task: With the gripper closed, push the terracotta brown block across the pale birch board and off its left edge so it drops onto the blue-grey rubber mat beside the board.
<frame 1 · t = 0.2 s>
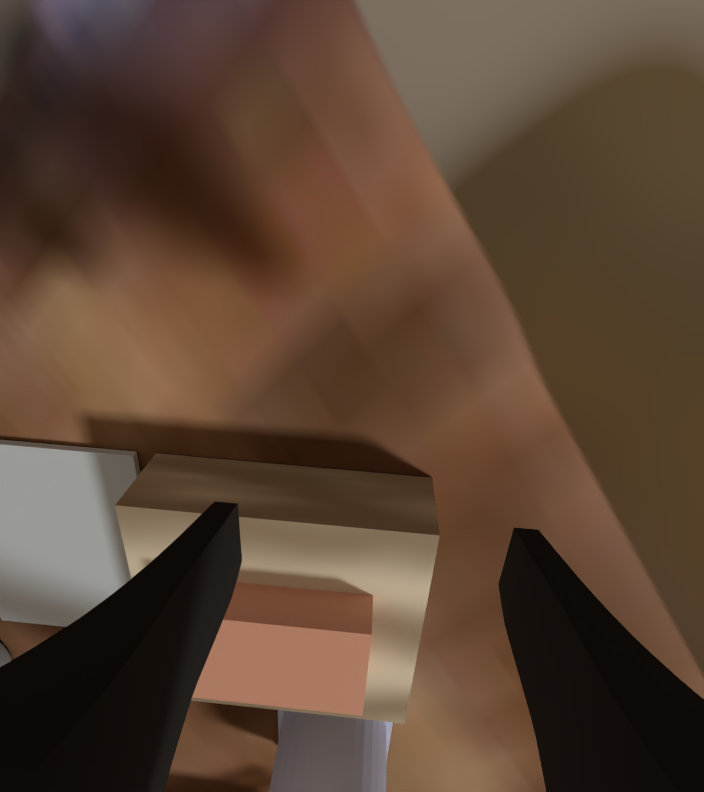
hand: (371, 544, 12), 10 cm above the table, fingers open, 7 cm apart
terracotta brown block: (277, 628, 23), point 4 cm above the table, touching board
mat: (63, 543, 27), on the table
board: (292, 565, 27), on the table
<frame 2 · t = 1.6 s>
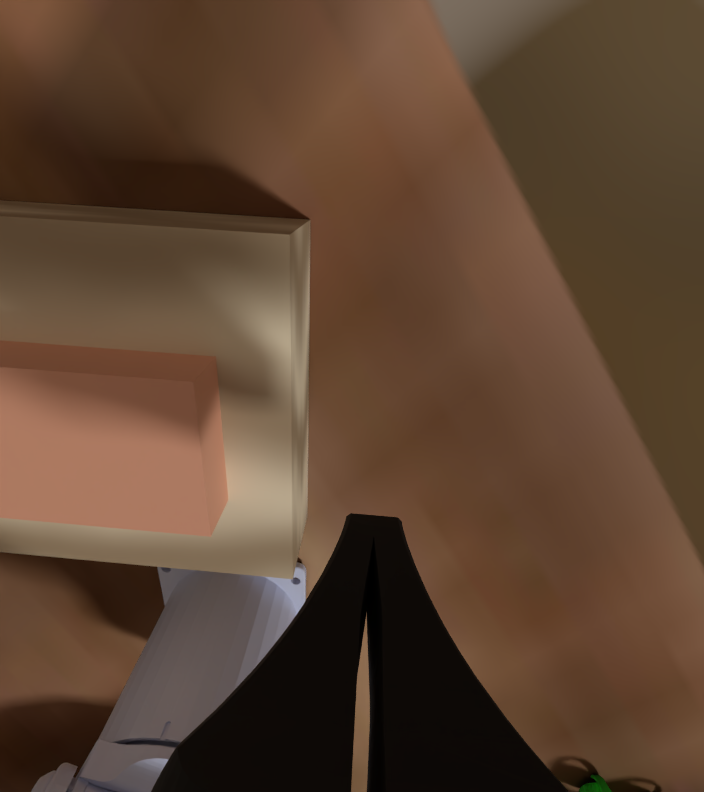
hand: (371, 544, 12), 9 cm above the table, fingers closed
terracotta brown block: (100, 424, 17), point 4 cm above the table, touching board
board: (150, 378, 20), on the table
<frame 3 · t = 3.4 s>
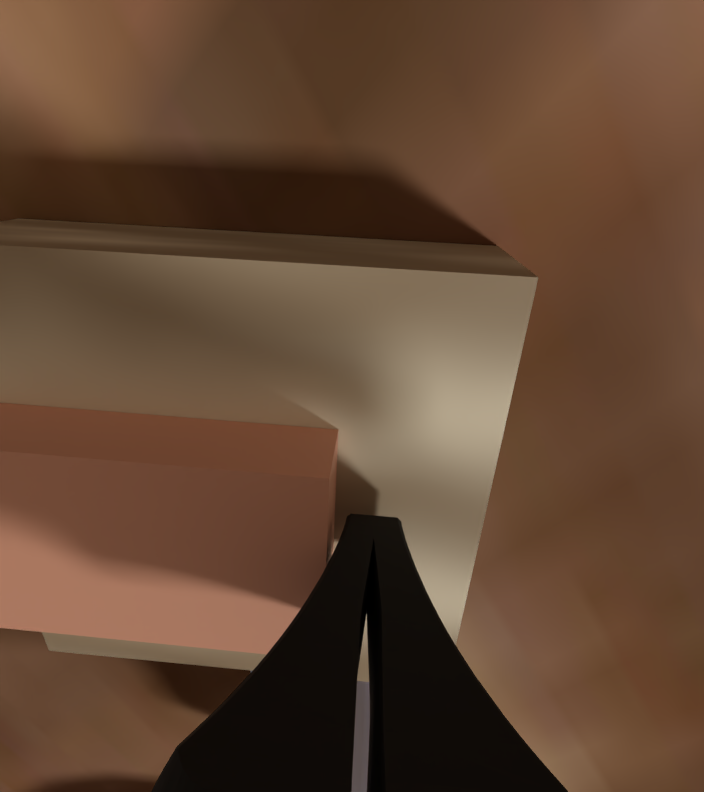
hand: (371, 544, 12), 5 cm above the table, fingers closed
terracotta brown block: (175, 508, 13), point 4 cm above the table, touching gripper
board: (263, 438, 17), on the table
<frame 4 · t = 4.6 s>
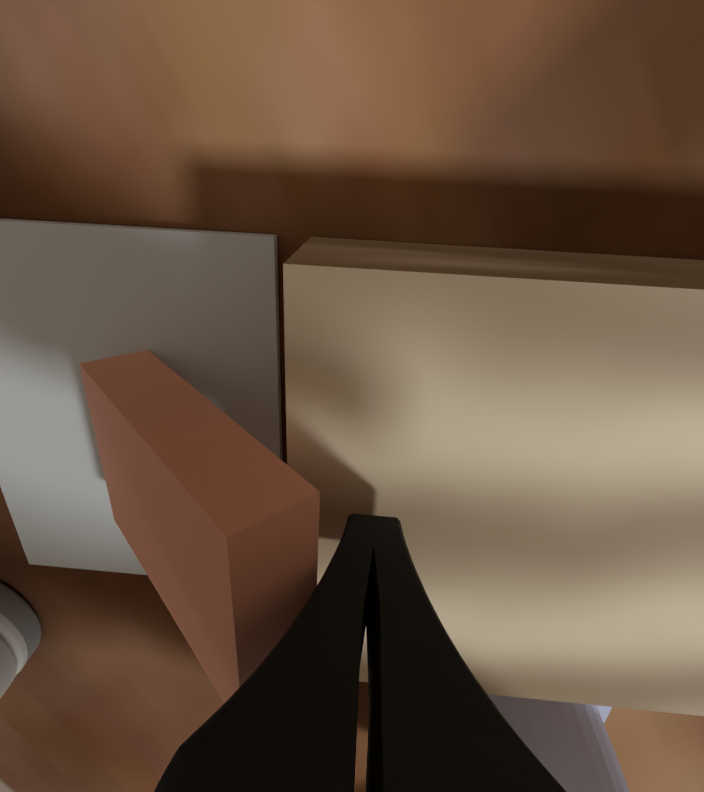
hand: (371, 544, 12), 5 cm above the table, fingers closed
terracotta brown block: (221, 495, 13), point 4 cm above the table, tilted 45°, touching gripper, mat
mat: (131, 428, 17), on the table
board: (508, 457, 16), on the table
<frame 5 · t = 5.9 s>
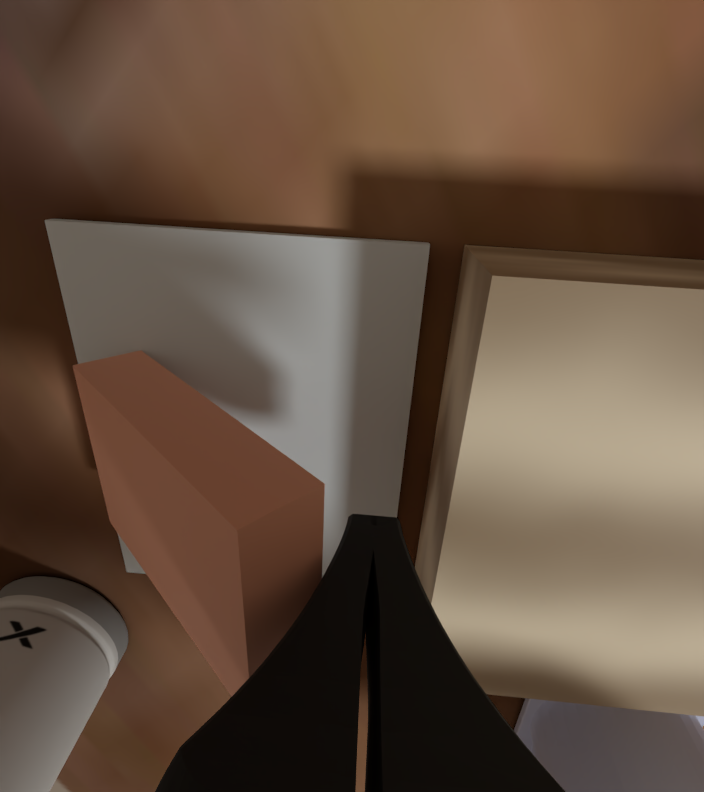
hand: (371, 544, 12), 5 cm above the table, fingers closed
terracotta brown block: (220, 493, 13), point 3 cm above the table, tilted 42°, touching gripper, mat
travel mug: (65, 614, 22), on the table
mat: (249, 436, 17), on the table
board: (635, 468, 16), on the table
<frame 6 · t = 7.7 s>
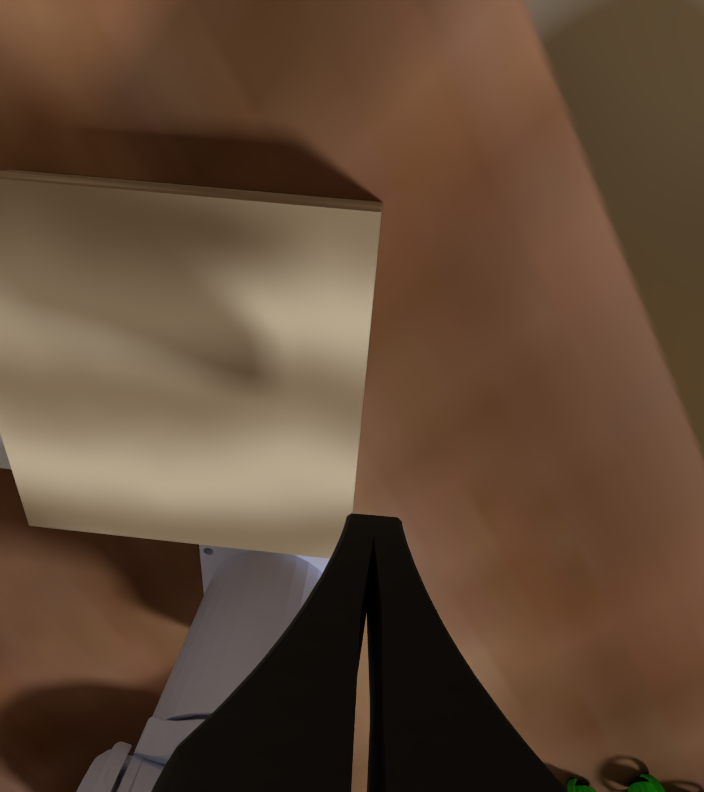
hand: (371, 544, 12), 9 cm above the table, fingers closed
board: (208, 358, 21), on the table
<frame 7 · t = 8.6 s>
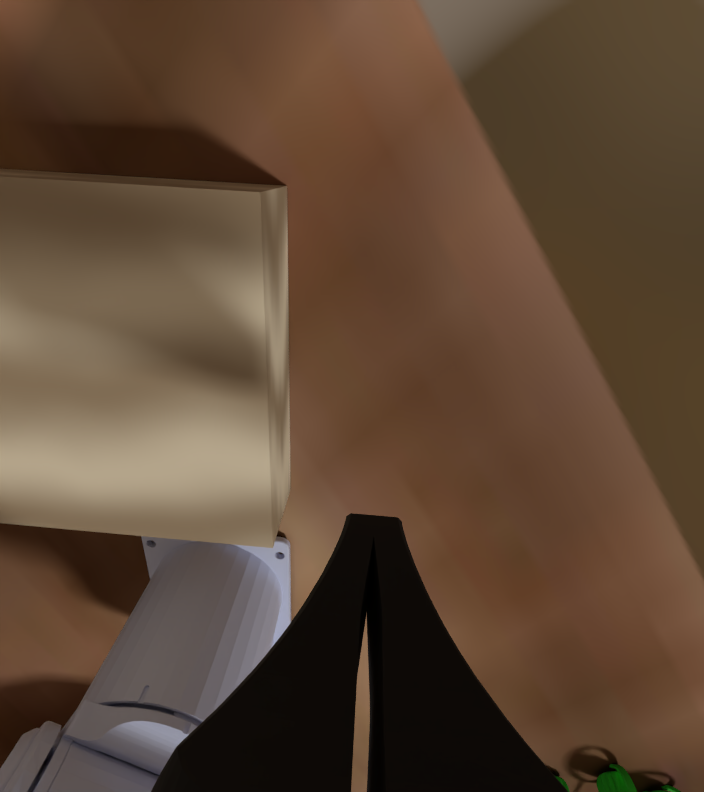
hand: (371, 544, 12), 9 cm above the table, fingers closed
board: (132, 349, 21), on the table
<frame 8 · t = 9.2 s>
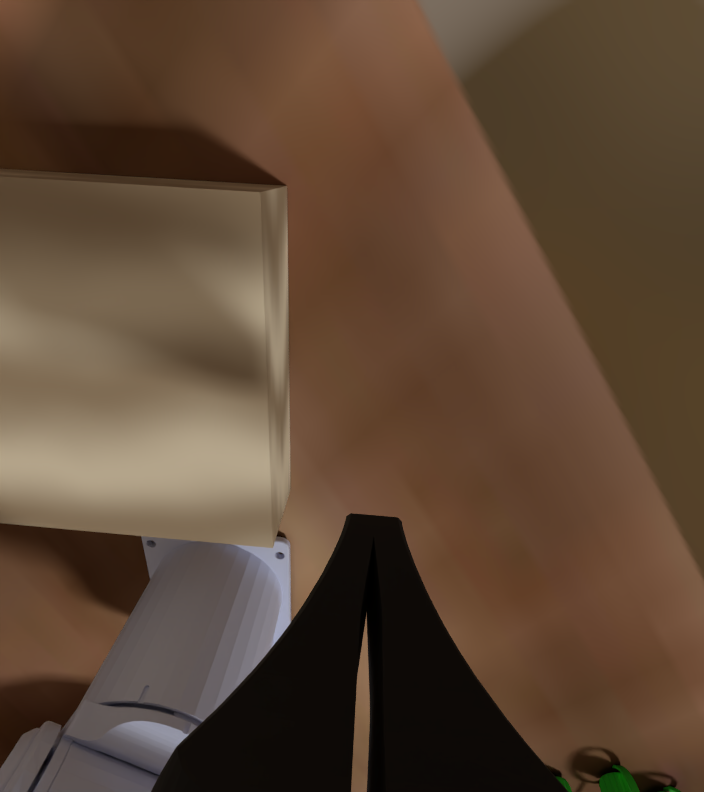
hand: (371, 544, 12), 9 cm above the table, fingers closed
board: (132, 349, 21), on the table
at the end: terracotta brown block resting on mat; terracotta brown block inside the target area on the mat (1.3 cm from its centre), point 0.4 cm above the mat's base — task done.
